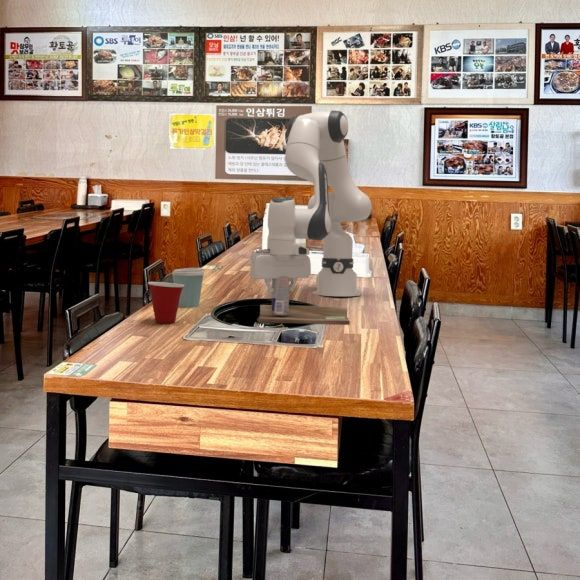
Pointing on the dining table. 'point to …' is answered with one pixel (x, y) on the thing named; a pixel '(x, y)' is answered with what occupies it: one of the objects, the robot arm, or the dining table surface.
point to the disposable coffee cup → (189, 286)
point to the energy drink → (280, 296)
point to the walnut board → (306, 315)
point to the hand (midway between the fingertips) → (280, 292)
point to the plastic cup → (165, 300)
